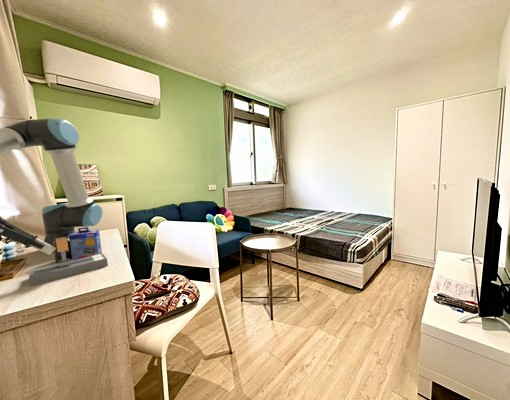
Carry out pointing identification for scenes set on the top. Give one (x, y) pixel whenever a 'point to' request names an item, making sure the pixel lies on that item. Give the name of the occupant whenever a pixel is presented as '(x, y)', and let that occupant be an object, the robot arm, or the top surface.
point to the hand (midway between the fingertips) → (52, 251)
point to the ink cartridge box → (85, 243)
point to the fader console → (66, 269)
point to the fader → (63, 250)
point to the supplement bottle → (68, 252)
